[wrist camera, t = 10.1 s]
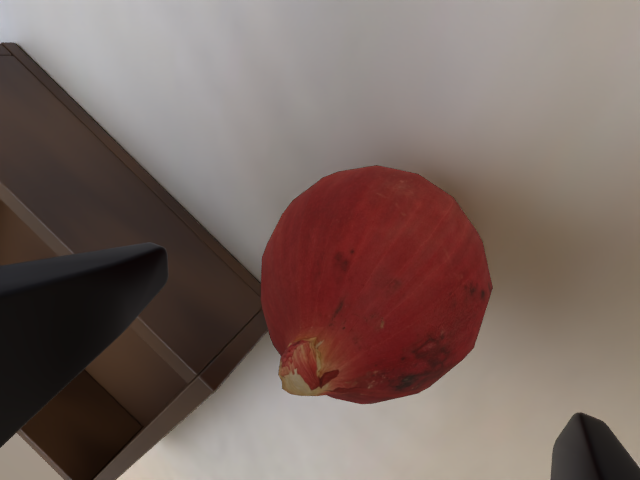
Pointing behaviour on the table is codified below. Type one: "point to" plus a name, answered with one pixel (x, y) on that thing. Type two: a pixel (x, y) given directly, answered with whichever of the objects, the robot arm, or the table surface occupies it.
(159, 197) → the open wooden box
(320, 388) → the onion
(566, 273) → the table surface
